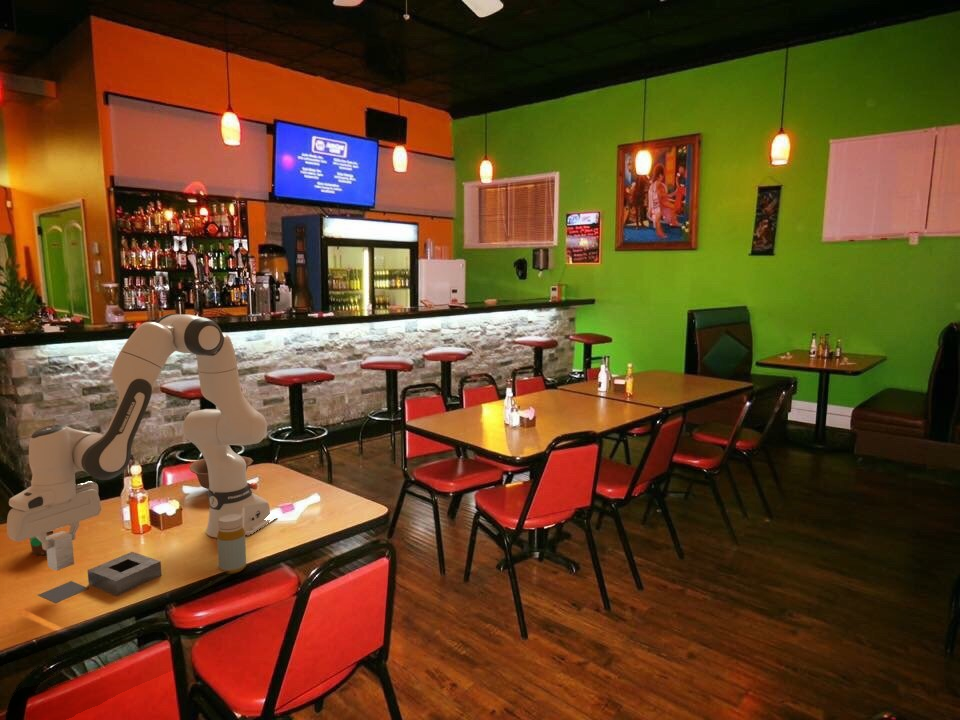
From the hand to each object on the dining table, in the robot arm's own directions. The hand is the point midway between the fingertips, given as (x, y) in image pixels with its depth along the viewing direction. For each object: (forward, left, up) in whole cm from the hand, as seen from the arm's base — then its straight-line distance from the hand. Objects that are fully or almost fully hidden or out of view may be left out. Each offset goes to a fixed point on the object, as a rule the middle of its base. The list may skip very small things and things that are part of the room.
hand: (59, 544), depth 151 cm
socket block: (-11, +8, -14) cm, 19 cm away
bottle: (-30, +26, -14) cm, 42 cm away
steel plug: (0, 0, -6) cm, 6 cm away
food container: (-11, -32, -14) cm, 36 cm away
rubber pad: (0, 0, -14) cm, 14 cm away
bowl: (-71, -27, -14) cm, 77 cm away
